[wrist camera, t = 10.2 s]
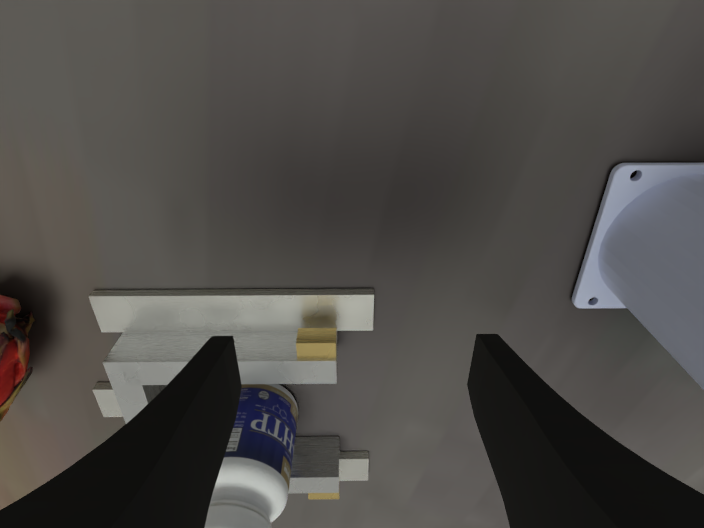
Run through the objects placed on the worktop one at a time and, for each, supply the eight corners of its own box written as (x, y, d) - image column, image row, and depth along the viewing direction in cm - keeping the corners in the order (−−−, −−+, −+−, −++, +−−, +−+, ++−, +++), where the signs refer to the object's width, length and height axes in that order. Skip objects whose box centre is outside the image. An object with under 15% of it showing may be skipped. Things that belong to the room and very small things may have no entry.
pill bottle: (314, 413, 29) (303, 562, 21) (251, 442, 30) (219, 591, 22) (264, 362, 26) (231, 508, 19) (198, 395, 28) (142, 544, 20)
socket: (373, 288, 24) (376, 322, 21) (367, 472, 32) (369, 514, 29) (60, 290, 23) (24, 325, 21) (134, 475, 32) (115, 516, 29)
